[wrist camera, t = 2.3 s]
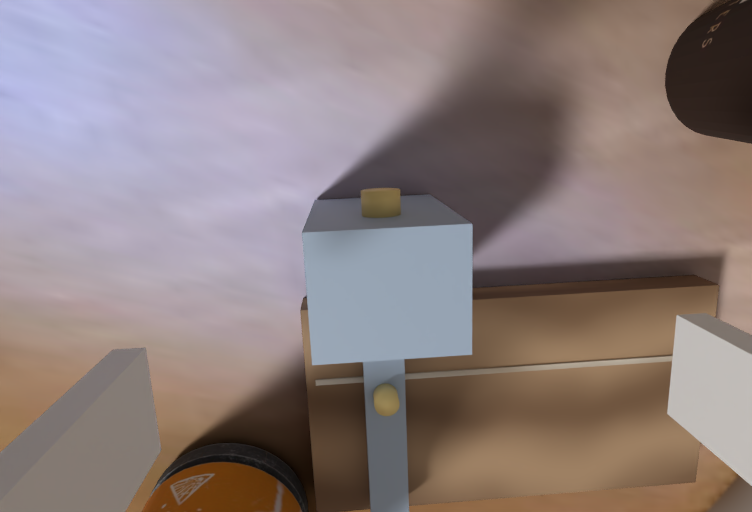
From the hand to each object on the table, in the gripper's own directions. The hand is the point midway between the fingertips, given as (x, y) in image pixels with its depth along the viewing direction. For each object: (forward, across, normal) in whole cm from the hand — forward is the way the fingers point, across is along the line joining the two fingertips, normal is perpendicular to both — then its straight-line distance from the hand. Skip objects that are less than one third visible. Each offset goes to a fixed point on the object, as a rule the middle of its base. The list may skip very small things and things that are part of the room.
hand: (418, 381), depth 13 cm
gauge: (+15, 0, -5) cm, 16 cm away
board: (+15, +7, -8) cm, 19 cm away
